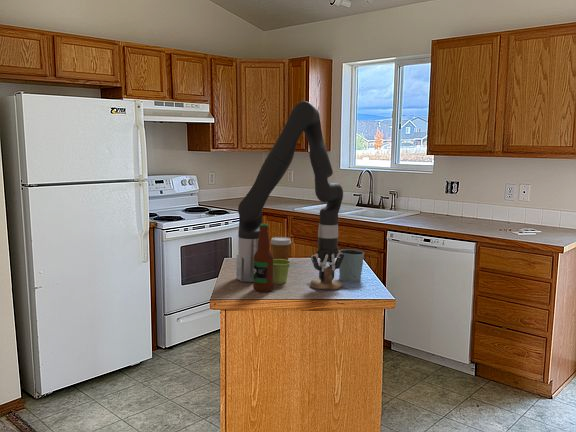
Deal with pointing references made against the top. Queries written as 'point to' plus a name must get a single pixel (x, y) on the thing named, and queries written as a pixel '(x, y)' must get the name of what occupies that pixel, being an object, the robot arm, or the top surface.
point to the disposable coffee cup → (280, 247)
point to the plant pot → (280, 270)
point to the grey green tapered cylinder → (351, 265)
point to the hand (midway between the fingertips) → (326, 279)
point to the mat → (326, 290)
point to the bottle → (263, 263)
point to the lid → (326, 281)
